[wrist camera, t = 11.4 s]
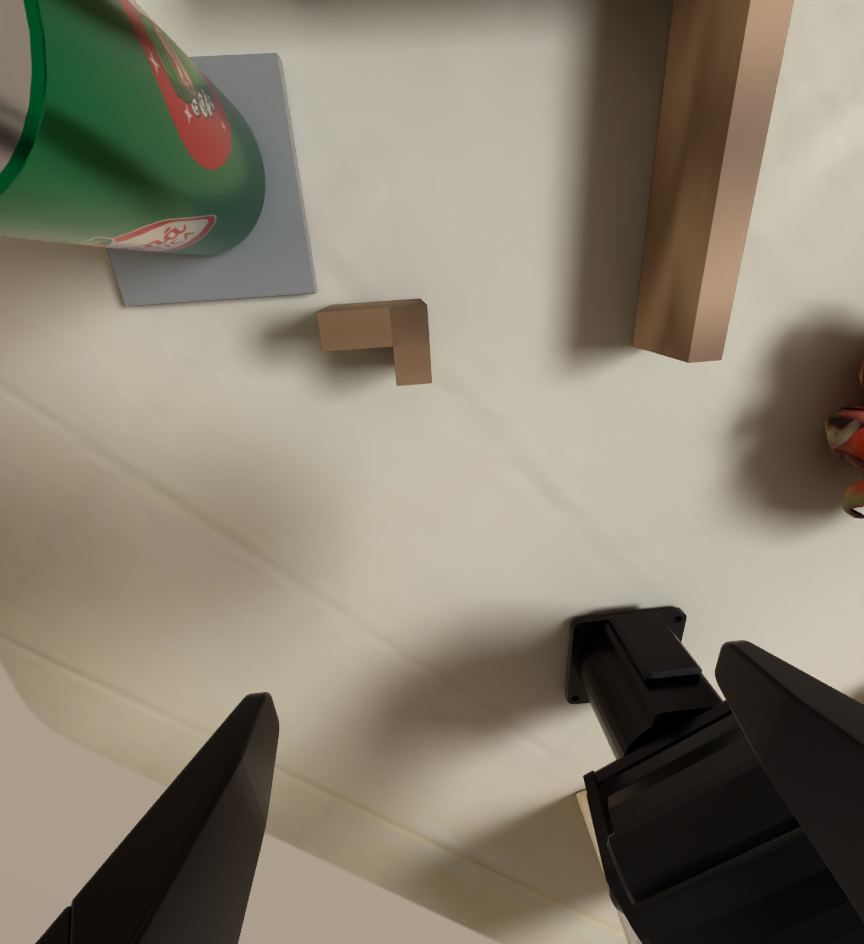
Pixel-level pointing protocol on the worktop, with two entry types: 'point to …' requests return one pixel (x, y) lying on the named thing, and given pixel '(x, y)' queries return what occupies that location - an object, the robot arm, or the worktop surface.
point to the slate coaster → (281, 220)
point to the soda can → (117, 135)
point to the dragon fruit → (849, 448)
